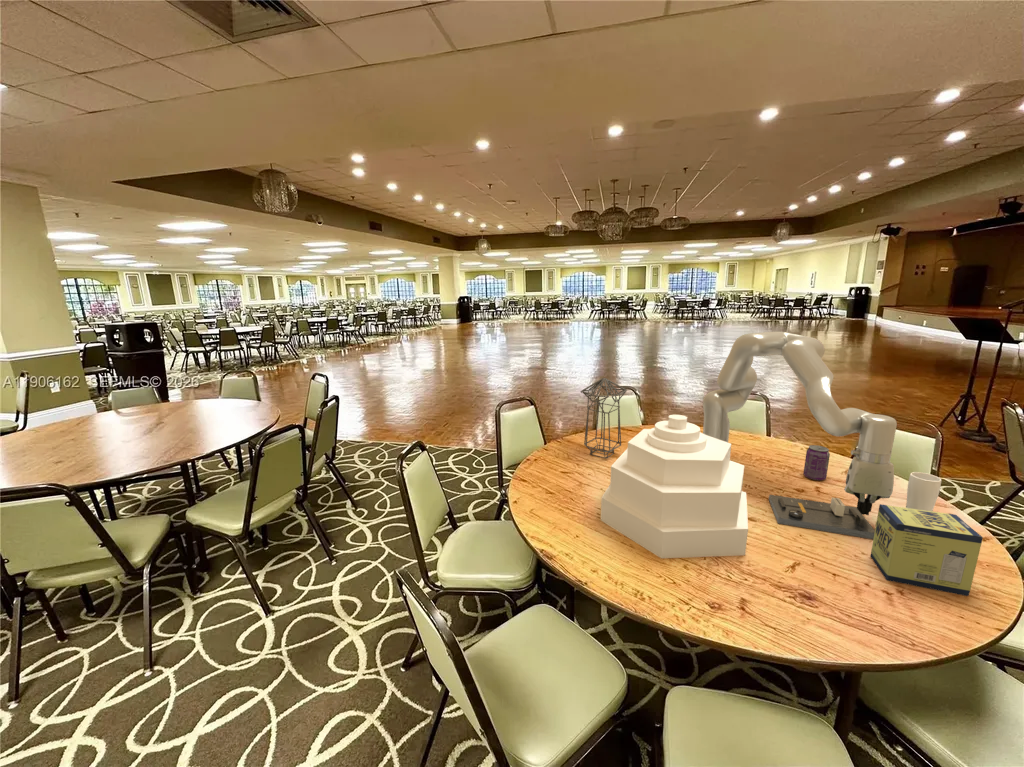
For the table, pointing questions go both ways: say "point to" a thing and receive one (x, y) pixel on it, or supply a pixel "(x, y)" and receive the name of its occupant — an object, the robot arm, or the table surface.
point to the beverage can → (816, 462)
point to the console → (820, 517)
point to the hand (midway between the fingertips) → (863, 512)
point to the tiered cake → (678, 493)
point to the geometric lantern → (596, 385)
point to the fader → (837, 506)
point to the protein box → (925, 549)
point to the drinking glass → (922, 491)
